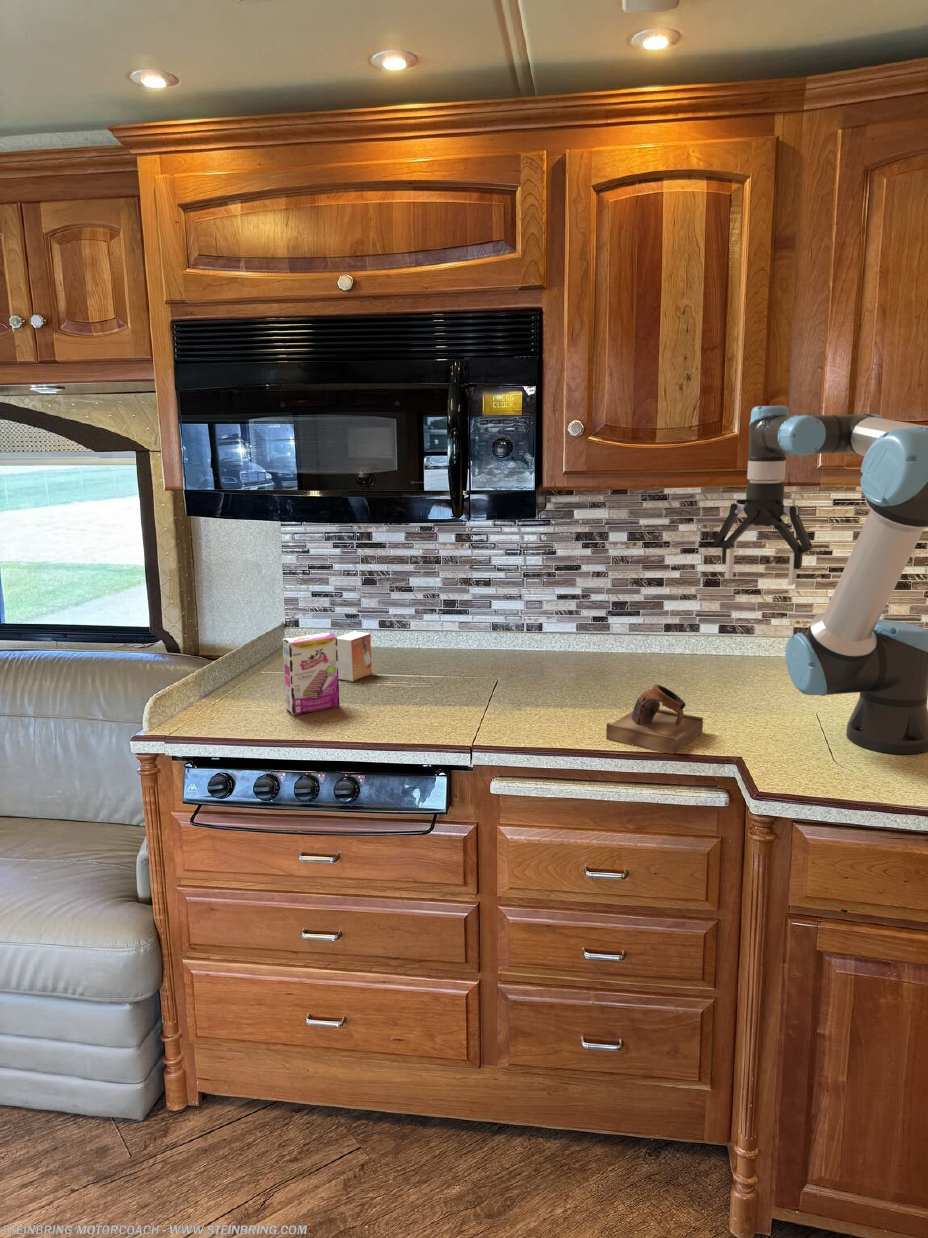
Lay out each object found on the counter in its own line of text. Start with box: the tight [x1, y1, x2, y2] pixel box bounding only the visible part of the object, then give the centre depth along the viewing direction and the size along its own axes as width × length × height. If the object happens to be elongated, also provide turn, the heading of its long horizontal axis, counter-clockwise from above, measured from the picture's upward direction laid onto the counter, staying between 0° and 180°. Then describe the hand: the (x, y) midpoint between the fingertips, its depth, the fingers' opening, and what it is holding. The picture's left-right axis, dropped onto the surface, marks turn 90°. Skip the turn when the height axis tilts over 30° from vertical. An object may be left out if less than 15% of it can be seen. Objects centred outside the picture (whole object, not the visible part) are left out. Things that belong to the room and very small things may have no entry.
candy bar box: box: [281, 632, 340, 716], centre depth 192 cm, size 11×5×16 cm, turn 121°
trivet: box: [605, 708, 704, 755], centre depth 173 cm, size 14×14×3 cm
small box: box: [336, 630, 373, 682], centre depth 216 cm, size 8×6×10 cm
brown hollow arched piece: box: [631, 684, 687, 725], centre depth 172 cm, size 12×10×8 cm
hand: (759, 581), depth 188 cm, fingers open, 13 cm apart
